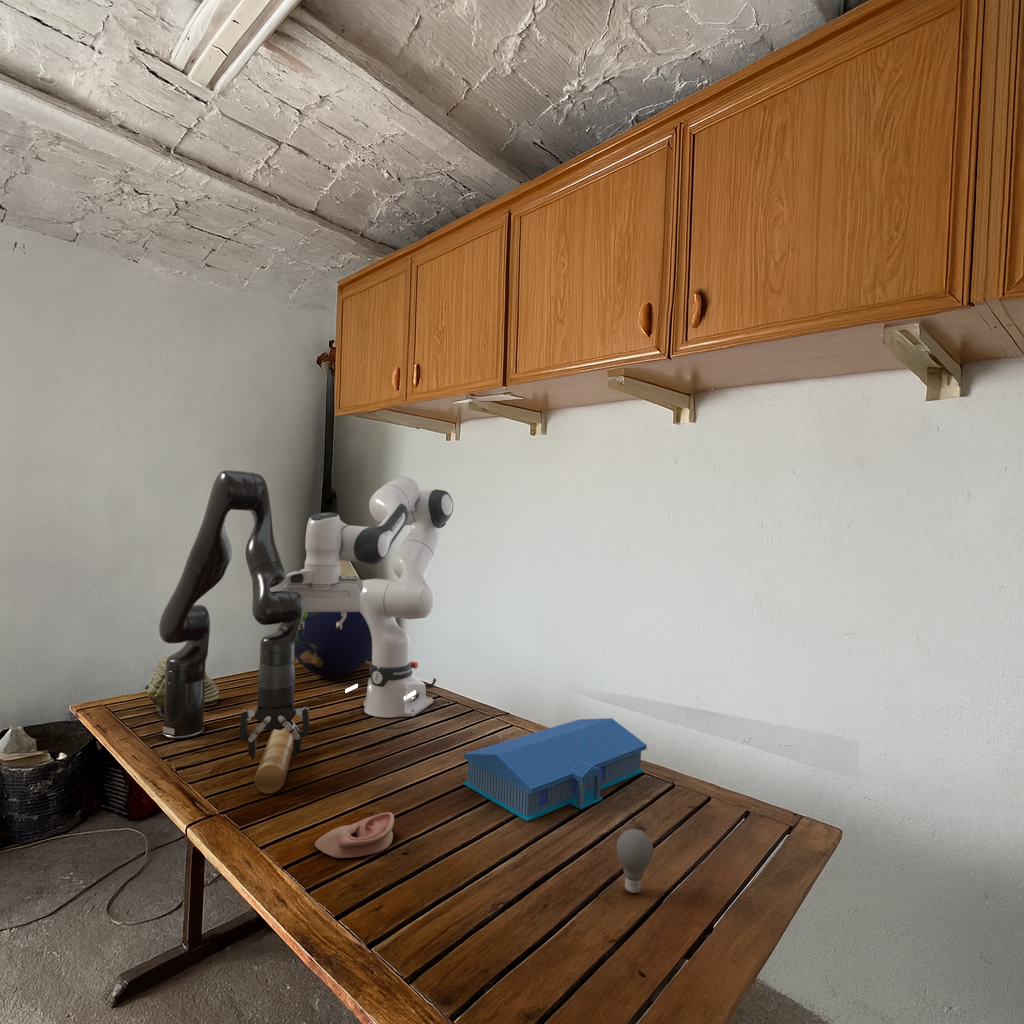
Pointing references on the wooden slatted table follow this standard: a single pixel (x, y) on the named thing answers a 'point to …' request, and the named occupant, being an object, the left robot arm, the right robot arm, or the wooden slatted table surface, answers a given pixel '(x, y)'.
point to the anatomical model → (358, 837)
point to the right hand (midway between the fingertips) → (320, 629)
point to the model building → (555, 766)
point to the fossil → (158, 687)
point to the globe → (333, 643)
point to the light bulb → (634, 857)
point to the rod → (274, 762)
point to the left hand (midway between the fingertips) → (274, 756)
